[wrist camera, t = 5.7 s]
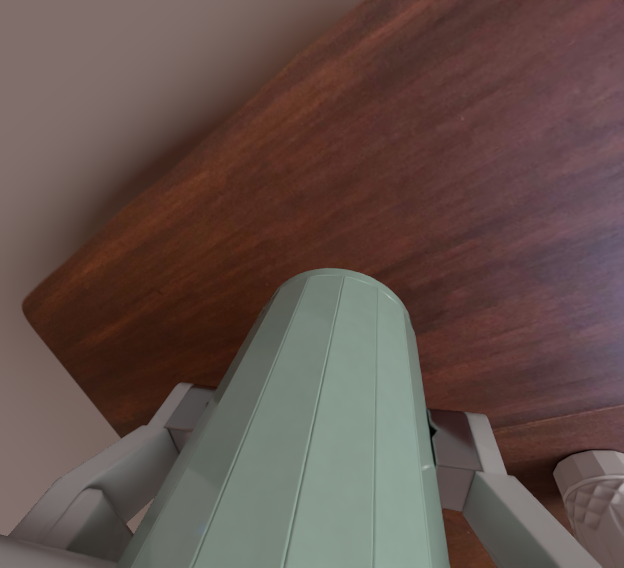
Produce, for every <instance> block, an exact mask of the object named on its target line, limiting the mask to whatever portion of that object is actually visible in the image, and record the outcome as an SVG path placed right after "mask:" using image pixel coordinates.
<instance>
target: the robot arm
mask: <svg viewBox="0 0 624 568" xmlns="http://www.w3.org/2000/svg"><path fill="white" fill-rule="evenodd" d="M217 388H218V387H214V386H206V385H199V384H191V383H182V382H181V383H179V384H178V385H176V386H175V388H174V389H173V390H172V392H171V393H170V395H169V396H168V397H167V399H166V400H165V401H164V403H163V404H162V406H161V407H160V408H159V410H158V411H157V412H156V414H155V415H154V417H153V418H152V419H151V421H150V422H149V423H148V425H147V426H145V425H142V426H141V427H139V428H137V429H136V430H134V431H133V432H131V433H130V434H128V435H126V436H125V437H123V438H122V439H120V440H119V441H117V442H115V443H114V444H112V445H111V446H109V447H107V448H106V449H104V450H103V451H101V452H100V453H98V454H96V455H95V456H93V457H92V458H90V459H89V460H87V461H86V462H84V463H83V464H81V465H79V466H78V467H76V468H75V469H73V470H71V471H70V472H68V473H66V474H65V475H64V476H62V477H60V478H59V479H57V480H56V481H55V482H54V483H53V484H52V486H51V487H50V488H49V489H48V490H47V491H46V493H45V494H44V495H43V496H42V497H41V498H40V500H39V501H38V502H37V503H36V504H35V505H34V506H33V508H32V509H31V510H30V511H29V512H28V513H27V515H26V516H25V517H24V518H23V519H22V520H21V522H20V523H19V524H18V525H17V526H16V527H15V529H14V530H13V531H12V532H11V533H10V534H9V535H8V536H4V535H0V568H115V567H116V565H117V563H118V561H119V560H120V558H121V556H122V554H123V553H124V551H125V549H126V547H127V546H128V544H129V542H130V540H131V539H132V537H133V535H134V534H133V533H132V531H131V530H130V529H129V527H128V526H127V525H126V523H127V522H128V521H129V520H130V519H131V518H133V517H134V516H135V515H136V514H137V513H138V512H139V511H140V510H141V509H142V508H143V507H144V506H145V505H147V504H148V503H149V502H150V501H151V500H152V499H153V498H154V497H155V496H156V495H157V493H158V491H159V490H160V488H161V486H162V484H163V483H164V481H165V479H166V477H167V475H168V474H169V472H170V470H171V468H172V467H173V465H174V463H175V461H176V460H177V458H178V456H179V454H180V453H181V451H182V449H183V447H184V446H185V444H186V442H187V440H188V439H189V437H190V435H191V433H192V432H193V430H194V428H195V426H196V425H197V423H198V421H199V419H200V418H201V416H202V414H203V412H204V411H205V409H206V407H207V405H208V404H209V402H210V400H211V398H212V397H213V395H214V393H215V391H216V390H217ZM426 411H427V417H428V424H429V430H430V437H431V444H432V451H433V457H434V464H435V470H436V476H437V483H438V490H439V496H440V503H441V508H446V509H451V510H456V511H462V514H463V516H464V517H465V519H466V520H467V522H468V523H469V525H470V526H471V528H472V529H473V531H474V532H475V534H476V535H477V537H478V538H479V540H480V541H481V543H482V545H483V546H484V548H485V549H486V551H487V552H488V554H489V555H490V557H491V558H492V560H493V561H494V563H495V564H496V566H497V567H498V568H603V567H602V566H601V565H600V564H599V563H598V562H597V561H596V560H595V559H594V558H593V557H592V556H591V555H590V554H589V553H588V552H587V551H586V550H585V549H584V548H583V547H582V546H581V545H580V544H579V543H578V542H577V540H576V539H575V538H574V537H573V536H572V535H571V534H570V533H569V532H568V531H567V530H566V529H565V528H564V527H563V526H562V525H561V524H560V523H559V522H558V521H557V520H556V519H555V518H554V517H553V516H552V515H551V514H550V513H549V512H548V511H547V510H546V509H545V508H544V506H543V505H542V504H541V503H540V502H539V501H538V500H537V499H536V498H535V497H534V496H533V495H532V494H531V493H530V492H529V491H528V490H527V489H526V488H525V487H524V486H523V485H522V484H521V483H520V482H519V481H518V480H517V479H516V478H515V477H514V476H510V475H507V472H506V470H505V467H504V464H503V461H502V458H501V455H500V452H499V449H498V447H497V444H496V441H495V438H494V435H493V432H492V429H491V426H490V424H489V421H488V418H487V417H486V415H485V414H478V413H468V412H462V411H451V410H440V409H429V408H426Z"/></svg>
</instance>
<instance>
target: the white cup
mask: <svg viewBox="0 0 624 568" xmlns="http://www.w3.org/2000/svg"><path fill="white" fill-rule="evenodd" d="M553 476H554V479H555V481H556V484H557V487H558V489H559V492H560V494H561V496H562V499H563V502H564V505H565V512H566V514H567V516H568V519H569V521H570V524H571V527H572V530H573V533H574V535H575V537H576V540H577V542H578V543H579V544H580V545H581V546H582V547H583V548H584V549H585V550H586V551H587V552H588V553H589V554H590V555H591V556H592V557H593V558H594V559H595V560H596V561H597V562H598V563H599V564H600V565H601V566H602V567H603V568H624V453H621V452H617V451H612V450H590V451H586V452H581V453H577V454H573V455H571V456H569V457H567V458H565V459H564V460H562V461H560V462H559V463H558V464H557V466H556V468H555V470H554V472H553Z"/></svg>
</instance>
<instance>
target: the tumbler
mask: <svg viewBox="0 0 624 568" xmlns="http://www.w3.org/2000/svg"><path fill="white" fill-rule="evenodd" d="M115 568H450V562H449V556H448V549H447V543H446V536H445V529H444V523H443V516H442V510H441V503H440V496H439V490H438V483H437V476H436V470H435V464H434V457H433V451H432V444H431V437H430V430H429V424H428V417H427V411H426V404H425V397H424V390H423V384H422V377H421V371H420V364H419V357H418V351H417V344H416V337H415V333H414V331H413V327H412V323H411V319H410V316H409V314H408V312H407V310H406V308H405V306H404V305H403V303H402V302H401V301H400V299H399V298H398V297H397V296H396V295H395V294H394V293H393V292H392V291H391V290H390V289H389V288H387V287H386V286H385V285H383V284H382V283H380V282H379V281H377V280H375V279H373V278H371V277H369V276H367V275H364V274H362V273H358V272H355V271H351V270H345V269H337V268H325V269H316V270H311V271H307V272H304V273H301V274H298V275H296V276H294V277H292V278H290V279H289V280H287V281H286V282H284V283H283V284H282V285H281V286H280V287H279V288H277V289H276V291H275V292H274V293H273V295H272V296H271V298H270V299H269V301H268V302H267V303H266V305H265V306H264V307H263V309H262V311H261V312H260V314H259V316H258V318H257V319H256V321H255V323H254V325H253V326H252V328H251V330H250V332H249V333H248V335H247V337H246V339H245V340H244V342H243V344H242V346H241V347H240V349H239V351H238V353H237V354H236V356H235V358H234V360H233V361H232V363H231V365H230V367H229V368H228V370H227V372H226V374H225V375H224V377H223V379H222V381H221V382H220V384H219V386H218V388H217V390H216V391H215V393H214V395H213V397H212V398H211V400H210V402H209V404H208V405H207V407H206V409H205V411H204V412H203V414H202V416H201V418H200V419H199V421H198V423H197V425H196V426H195V428H194V430H193V432H192V433H191V435H190V437H189V439H188V440H187V442H186V444H185V446H184V447H183V449H182V451H181V453H180V454H179V456H178V458H177V460H176V461H175V463H174V465H173V467H172V468H171V470H170V472H169V474H168V475H167V477H166V479H165V481H164V483H163V484H162V486H161V488H160V490H159V491H158V493H157V495H156V497H155V498H154V500H153V502H152V504H151V505H150V507H149V509H148V511H147V512H146V514H145V516H144V518H143V520H142V521H141V523H140V525H139V526H138V528H137V530H136V532H135V533H134V535H133V537H132V539H131V540H130V542H129V544H128V546H127V547H126V549H125V551H124V553H123V554H122V556H121V558H120V560H119V561H118V563H117V565H116V567H115Z"/></svg>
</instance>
